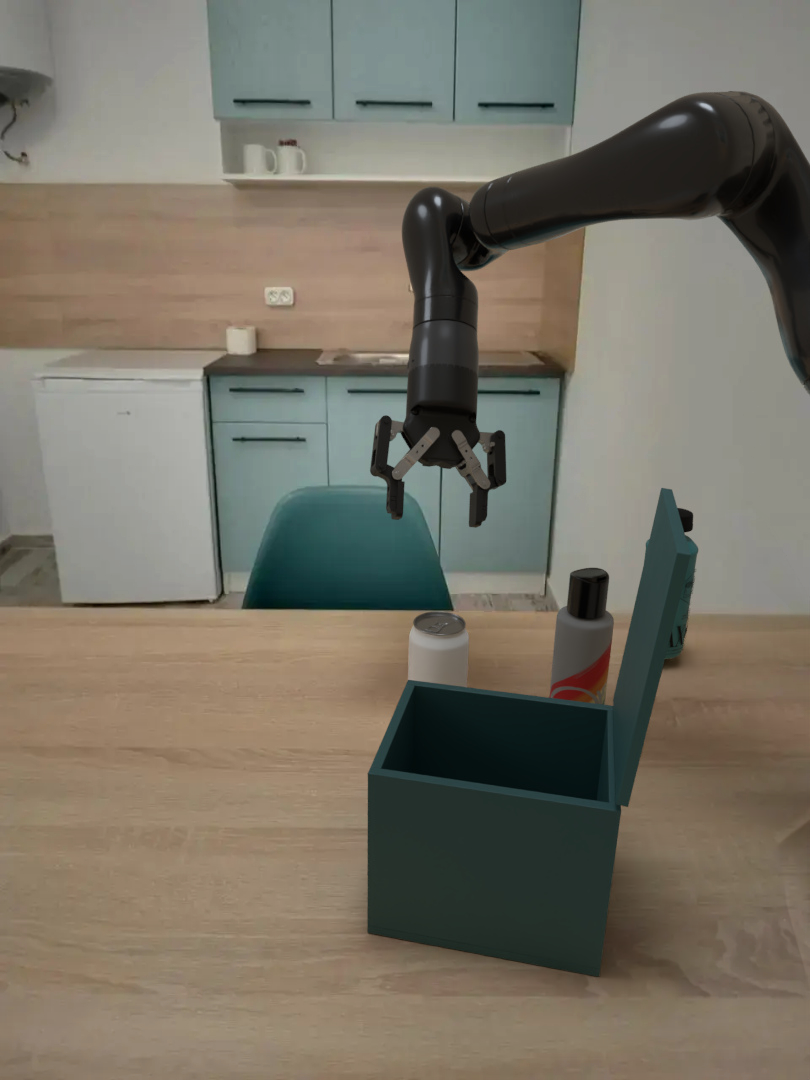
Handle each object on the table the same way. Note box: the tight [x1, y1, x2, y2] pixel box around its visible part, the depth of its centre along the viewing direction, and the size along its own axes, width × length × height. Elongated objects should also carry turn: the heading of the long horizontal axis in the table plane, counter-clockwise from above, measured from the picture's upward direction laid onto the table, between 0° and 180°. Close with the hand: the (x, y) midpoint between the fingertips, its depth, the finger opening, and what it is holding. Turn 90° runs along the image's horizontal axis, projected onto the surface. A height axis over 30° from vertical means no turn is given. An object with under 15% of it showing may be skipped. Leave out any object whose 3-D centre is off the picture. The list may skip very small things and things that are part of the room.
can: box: [407, 610, 470, 687], centre depth 90 cm, size 6×6×12 cm
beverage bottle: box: [643, 507, 699, 660], centre depth 103 cm, size 6×7×20 cm
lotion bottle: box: [548, 567, 615, 705], centre depth 85 cm, size 6×6×20 cm
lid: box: [612, 487, 691, 808], centre depth 58 cm, size 18×14×1 cm
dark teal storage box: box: [366, 679, 622, 978], centre depth 66 cm, size 18×14×15 cm
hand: (436, 522), depth 86 cm, fingers open, 8 cm apart
